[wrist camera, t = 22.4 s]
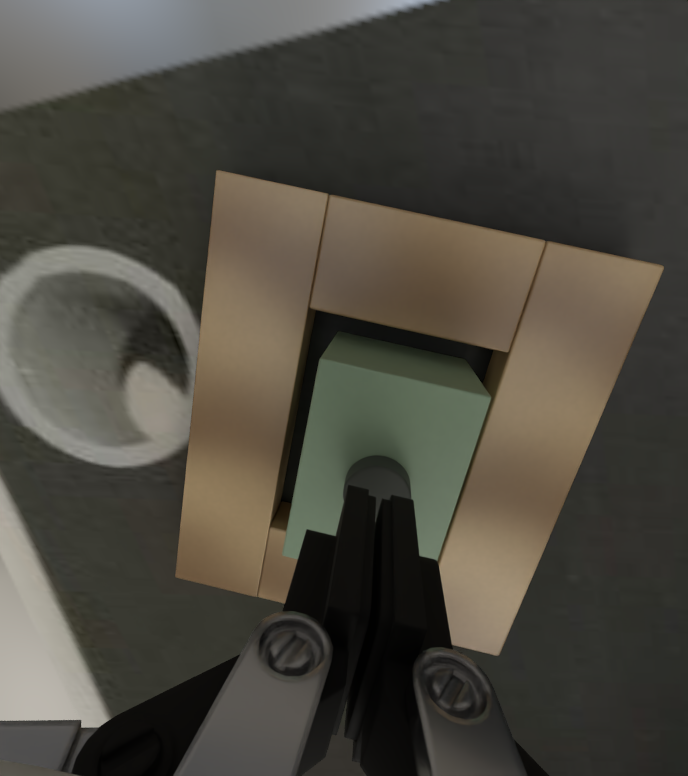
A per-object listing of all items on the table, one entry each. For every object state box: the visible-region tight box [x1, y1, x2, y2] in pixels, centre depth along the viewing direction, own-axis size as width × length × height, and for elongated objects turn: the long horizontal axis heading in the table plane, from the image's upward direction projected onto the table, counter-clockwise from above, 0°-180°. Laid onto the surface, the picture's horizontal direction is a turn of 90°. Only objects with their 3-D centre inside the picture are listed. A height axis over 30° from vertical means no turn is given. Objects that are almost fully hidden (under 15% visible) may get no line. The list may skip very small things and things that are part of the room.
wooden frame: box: [175, 170, 664, 656], centre depth 17 cm, size 16×14×2 cm
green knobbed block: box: [282, 331, 491, 560], centre depth 15 cm, size 7×5×5 cm
